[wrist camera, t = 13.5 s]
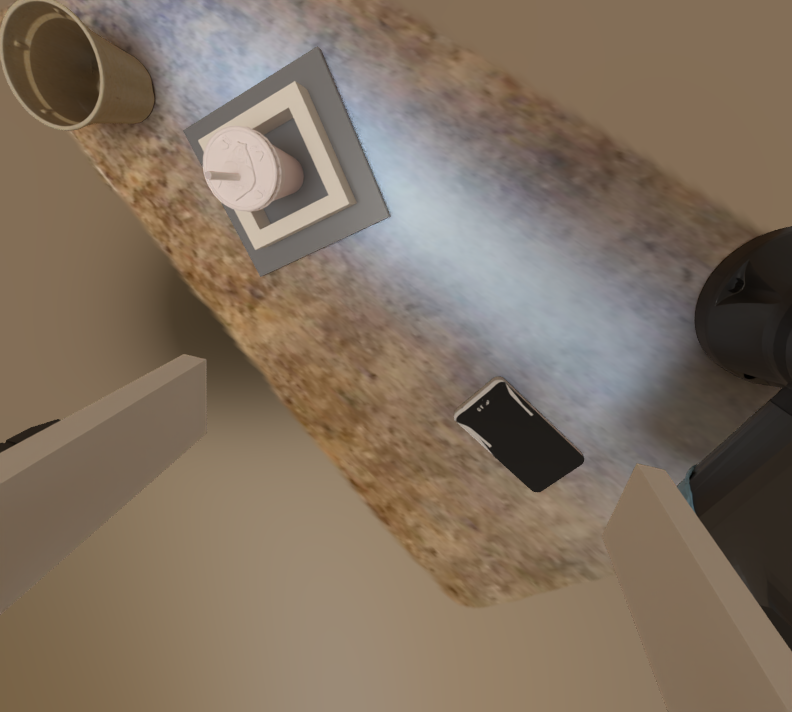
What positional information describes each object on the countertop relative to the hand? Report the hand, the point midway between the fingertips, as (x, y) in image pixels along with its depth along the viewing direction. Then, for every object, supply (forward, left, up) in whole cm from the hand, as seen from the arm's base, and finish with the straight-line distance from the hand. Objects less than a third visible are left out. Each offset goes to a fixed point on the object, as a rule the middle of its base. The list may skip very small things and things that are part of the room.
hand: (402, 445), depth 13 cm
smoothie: (+15, +11, -33) cm, 38 cm away
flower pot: (+29, +23, -34) cm, 51 cm away
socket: (+15, +11, -34) cm, 39 cm away
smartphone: (-22, -1, -35) cm, 41 cm away
